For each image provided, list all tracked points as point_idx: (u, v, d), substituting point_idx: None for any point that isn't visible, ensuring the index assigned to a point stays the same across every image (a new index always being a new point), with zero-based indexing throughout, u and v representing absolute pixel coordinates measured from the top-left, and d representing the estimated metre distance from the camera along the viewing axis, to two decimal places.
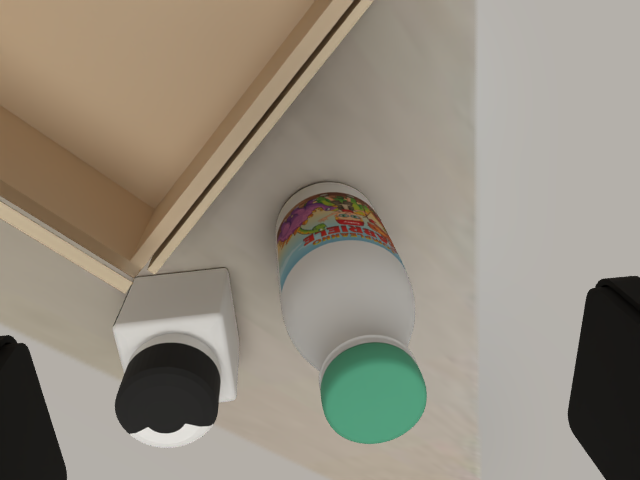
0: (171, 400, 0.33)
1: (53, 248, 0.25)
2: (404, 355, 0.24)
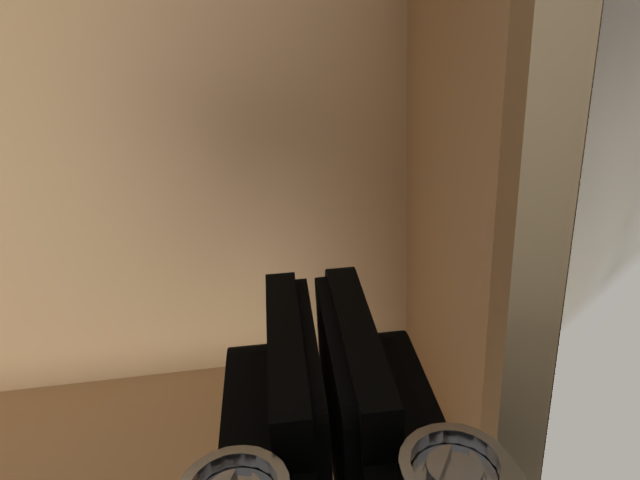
0: None
1: None
2: None
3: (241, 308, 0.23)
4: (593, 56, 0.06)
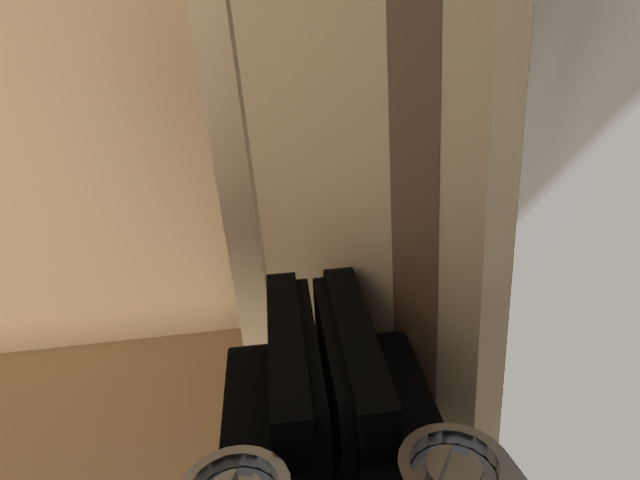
0: None
1: None
2: None
3: (97, 287, 0.23)
4: None
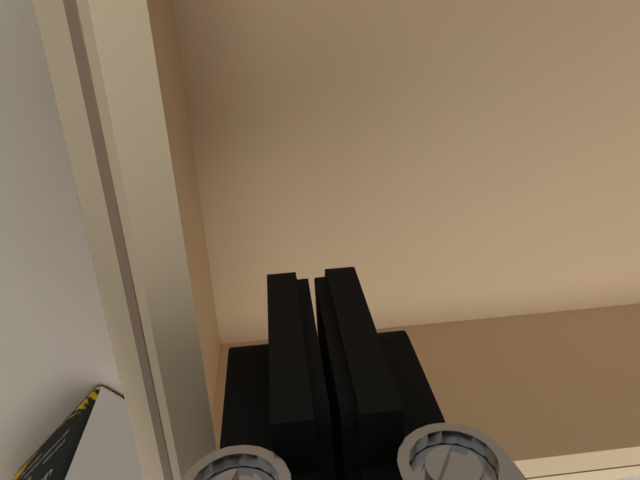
0: None
1: None
2: None
3: (606, 255, 0.25)
4: None
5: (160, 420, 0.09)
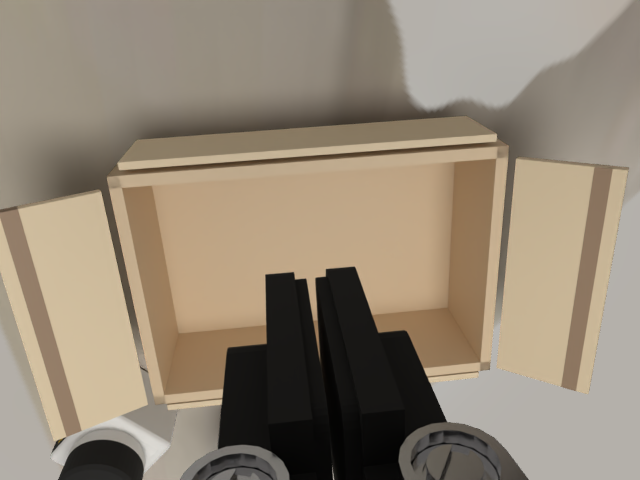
0: None
1: None
2: None
3: (373, 288, 0.50)
4: (620, 213, 0.35)
5: None
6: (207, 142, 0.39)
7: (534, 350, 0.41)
